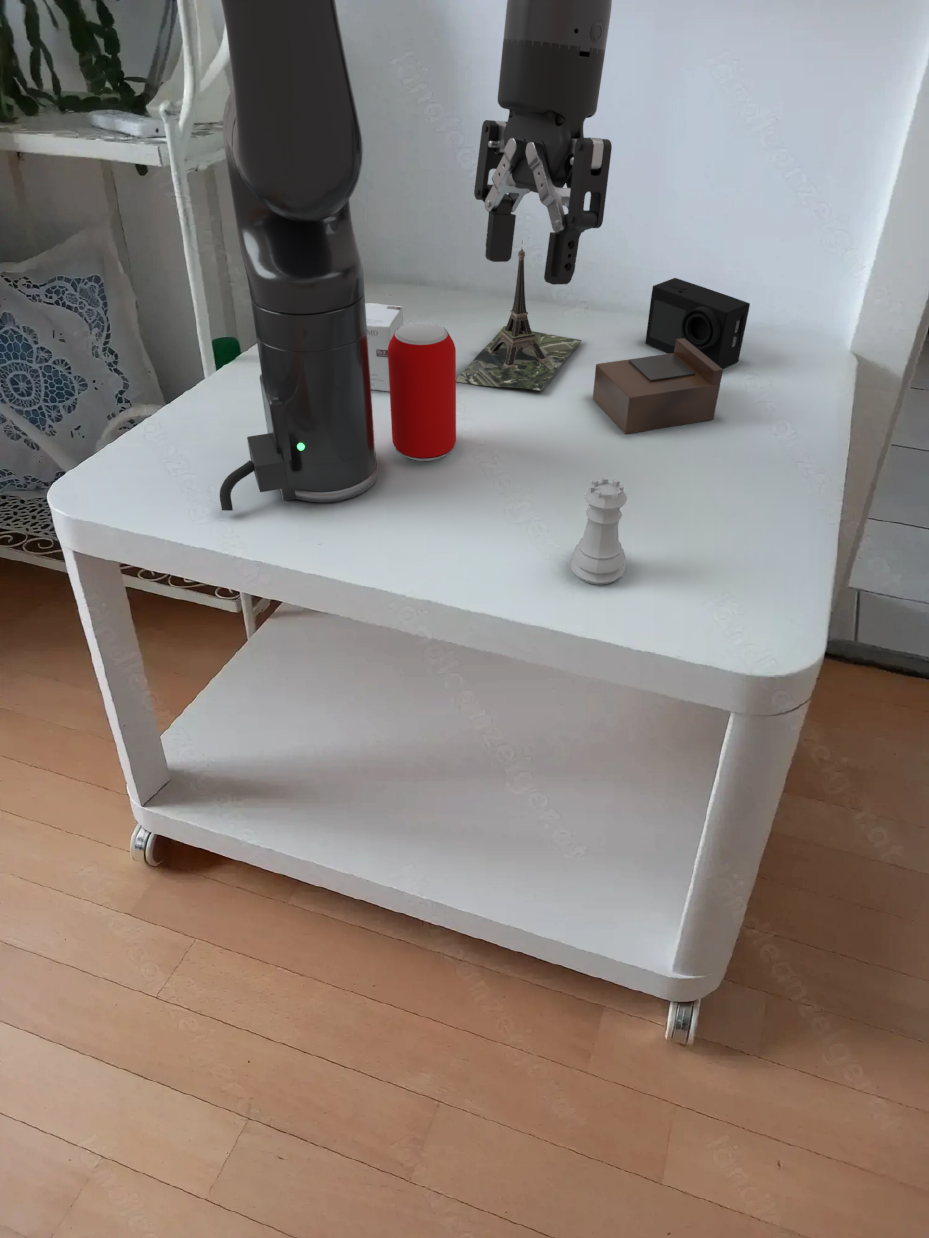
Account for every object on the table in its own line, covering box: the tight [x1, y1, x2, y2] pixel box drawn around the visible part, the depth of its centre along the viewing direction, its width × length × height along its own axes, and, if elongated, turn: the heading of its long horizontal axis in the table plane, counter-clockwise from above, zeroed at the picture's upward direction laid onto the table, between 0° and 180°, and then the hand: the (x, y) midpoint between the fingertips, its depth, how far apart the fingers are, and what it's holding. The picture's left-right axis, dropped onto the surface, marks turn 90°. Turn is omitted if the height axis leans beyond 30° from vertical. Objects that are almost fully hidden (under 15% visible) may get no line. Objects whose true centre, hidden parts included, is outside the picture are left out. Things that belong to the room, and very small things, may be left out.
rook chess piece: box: [570, 477, 628, 586], centre depth 74 cm, size 4×4×8 cm
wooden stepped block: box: [592, 338, 724, 435], centre depth 96 cm, size 10×8×6 cm
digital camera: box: [644, 277, 751, 370], centre depth 106 cm, size 10×5×7 cm, turn 42°
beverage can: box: [388, 321, 457, 462], centre depth 87 cm, size 6×6×12 cm
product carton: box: [365, 302, 404, 392], centre depth 101 cm, size 6×6×7 cm
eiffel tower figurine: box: [456, 239, 583, 391], centre depth 102 cm, size 15×10×13 cm
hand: (526, 271), depth 77 cm, fingers open, 8 cm apart
